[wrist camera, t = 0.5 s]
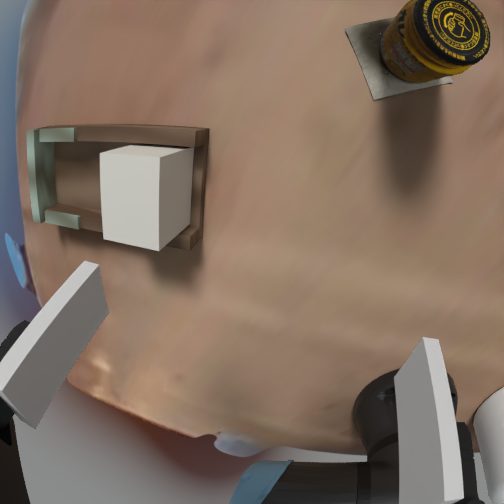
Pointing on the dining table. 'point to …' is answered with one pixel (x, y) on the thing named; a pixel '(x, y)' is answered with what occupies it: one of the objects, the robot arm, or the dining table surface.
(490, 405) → the can
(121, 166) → the cream block
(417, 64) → the condiment
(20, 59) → the dining table surface
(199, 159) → the walnut chute
